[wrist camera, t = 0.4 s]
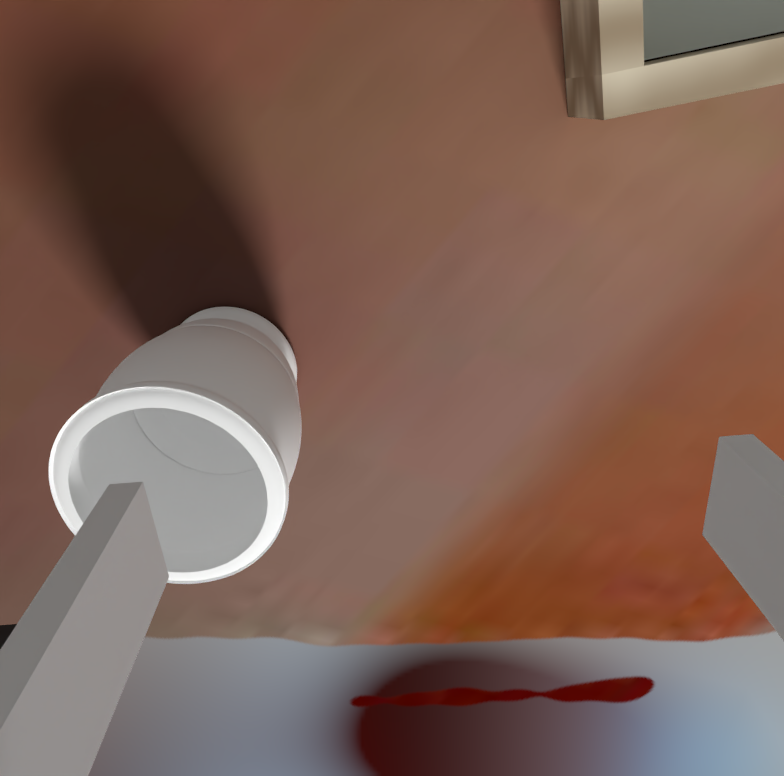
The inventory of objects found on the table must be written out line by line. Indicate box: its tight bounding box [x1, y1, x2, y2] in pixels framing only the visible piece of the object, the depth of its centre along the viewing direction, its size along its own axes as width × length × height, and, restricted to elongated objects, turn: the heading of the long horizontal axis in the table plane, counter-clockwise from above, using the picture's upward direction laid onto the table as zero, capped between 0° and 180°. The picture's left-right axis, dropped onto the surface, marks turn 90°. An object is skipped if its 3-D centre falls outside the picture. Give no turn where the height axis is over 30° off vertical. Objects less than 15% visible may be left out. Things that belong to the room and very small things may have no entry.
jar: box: [49, 307, 301, 584], centre depth 35 cm, size 11×10×15 cm
